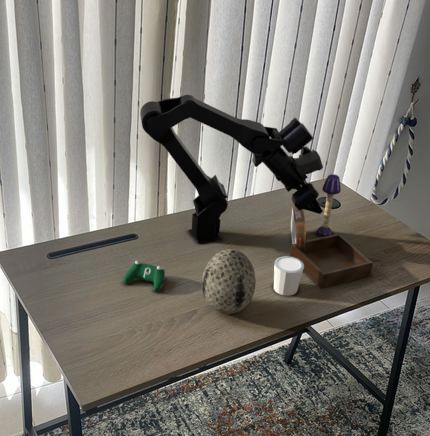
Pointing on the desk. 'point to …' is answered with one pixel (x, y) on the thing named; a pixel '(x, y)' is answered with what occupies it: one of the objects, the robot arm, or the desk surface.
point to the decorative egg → (228, 281)
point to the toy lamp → (329, 203)
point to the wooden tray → (332, 260)
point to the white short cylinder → (287, 275)
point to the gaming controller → (145, 274)
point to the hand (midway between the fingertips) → (316, 203)
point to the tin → (298, 228)
